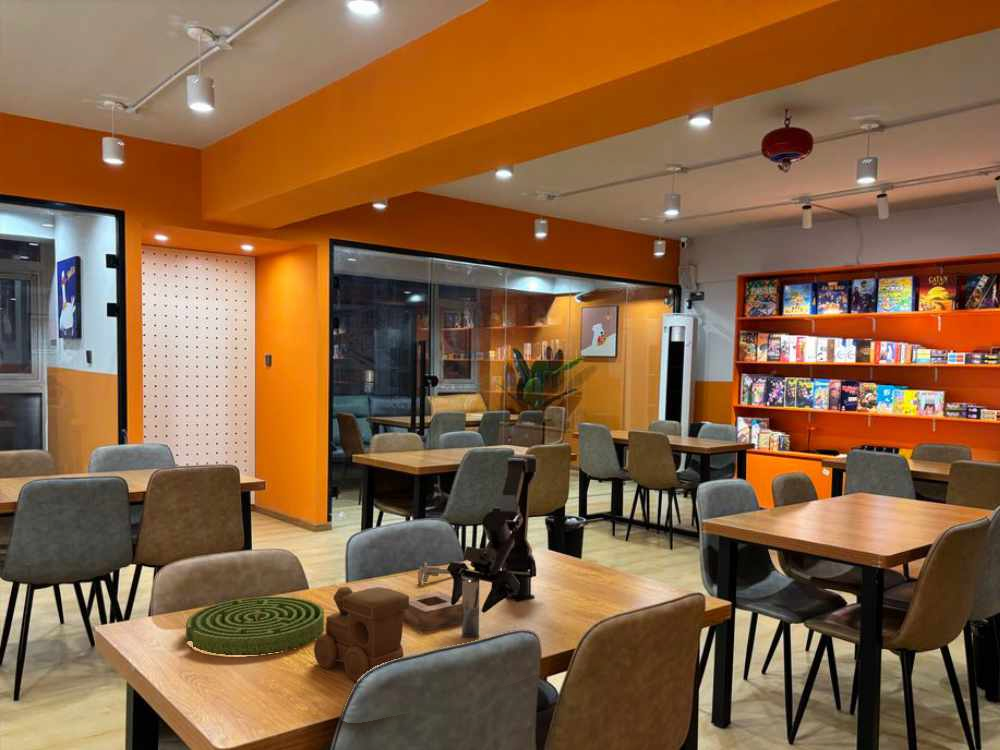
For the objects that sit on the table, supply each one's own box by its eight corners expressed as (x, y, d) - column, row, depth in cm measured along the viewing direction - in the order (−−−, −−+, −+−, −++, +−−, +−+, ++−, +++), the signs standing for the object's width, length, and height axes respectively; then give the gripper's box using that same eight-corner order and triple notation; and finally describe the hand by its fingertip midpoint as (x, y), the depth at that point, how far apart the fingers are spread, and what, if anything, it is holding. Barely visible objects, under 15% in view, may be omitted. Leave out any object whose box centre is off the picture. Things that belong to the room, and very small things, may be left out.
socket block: (439, 606, 206) (439, 589, 206) (471, 620, 195) (471, 602, 195) (393, 616, 197) (393, 599, 197) (423, 631, 186) (424, 613, 186)
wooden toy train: (412, 674, 161) (413, 593, 161) (368, 691, 152) (369, 606, 152) (351, 650, 174) (352, 575, 174) (308, 664, 165) (308, 586, 165)
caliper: (420, 585, 226) (420, 563, 226) (417, 584, 227) (417, 563, 227) (472, 573, 240) (472, 553, 240) (470, 572, 241) (470, 552, 241)
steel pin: (472, 631, 187) (472, 577, 187) (482, 636, 184) (482, 580, 183) (458, 634, 184) (459, 579, 184) (468, 639, 181) (469, 583, 181)
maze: (167, 631, 186) (167, 610, 186) (289, 606, 206) (289, 587, 206) (214, 670, 162) (214, 646, 162) (347, 638, 182) (347, 617, 182)
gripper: (452, 528, 193) (421, 582, 184) (513, 538, 181) (484, 596, 173) (471, 554, 199) (442, 607, 190) (532, 565, 188) (504, 623, 179)
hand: (467, 608), depth 183 cm, fingers open, 9 cm apart
